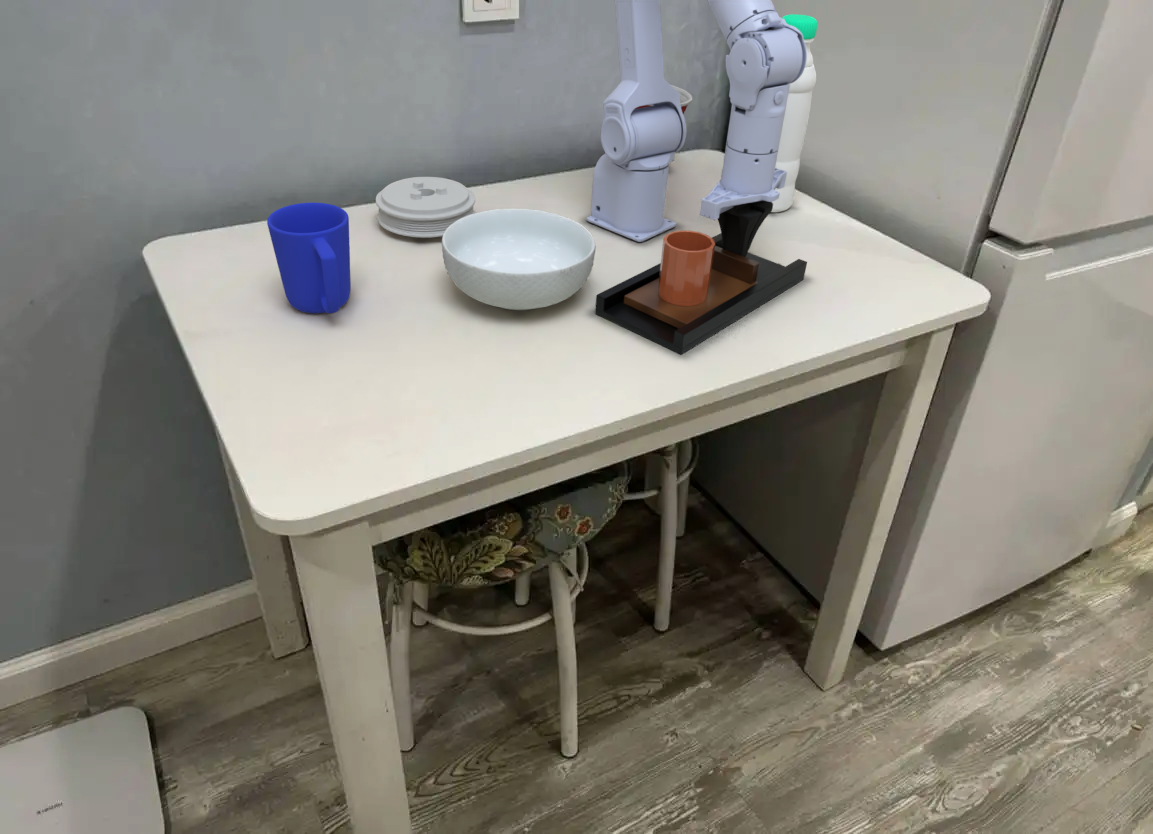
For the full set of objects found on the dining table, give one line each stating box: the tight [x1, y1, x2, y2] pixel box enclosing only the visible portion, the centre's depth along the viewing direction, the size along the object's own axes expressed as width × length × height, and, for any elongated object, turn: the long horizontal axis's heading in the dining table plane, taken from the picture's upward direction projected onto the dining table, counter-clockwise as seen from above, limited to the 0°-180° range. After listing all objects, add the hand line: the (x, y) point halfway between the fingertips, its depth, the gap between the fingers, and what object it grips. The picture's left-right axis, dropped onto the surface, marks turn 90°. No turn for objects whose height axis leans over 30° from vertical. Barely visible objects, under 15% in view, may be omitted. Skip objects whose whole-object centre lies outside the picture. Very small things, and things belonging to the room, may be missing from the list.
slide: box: [624, 246, 759, 328], centre depth 101 cm, size 9×14×3 cm, turn 138°
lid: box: [375, 176, 476, 238], centre depth 116 cm, size 13×13×5 cm
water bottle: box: [770, 13, 818, 213], centre depth 120 cm, size 7×7×25 cm
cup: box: [658, 229, 715, 306], centre depth 98 cm, size 6×6×6 cm
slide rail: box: [594, 232, 808, 355], centre depth 103 cm, size 12×25×2 cm, turn 138°
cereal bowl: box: [441, 208, 597, 311], centre depth 100 cm, size 17×17×7 cm
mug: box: [266, 202, 352, 314], centre depth 95 cm, size 8×12×10 cm
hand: (734, 259), depth 106 cm, fingers closed
